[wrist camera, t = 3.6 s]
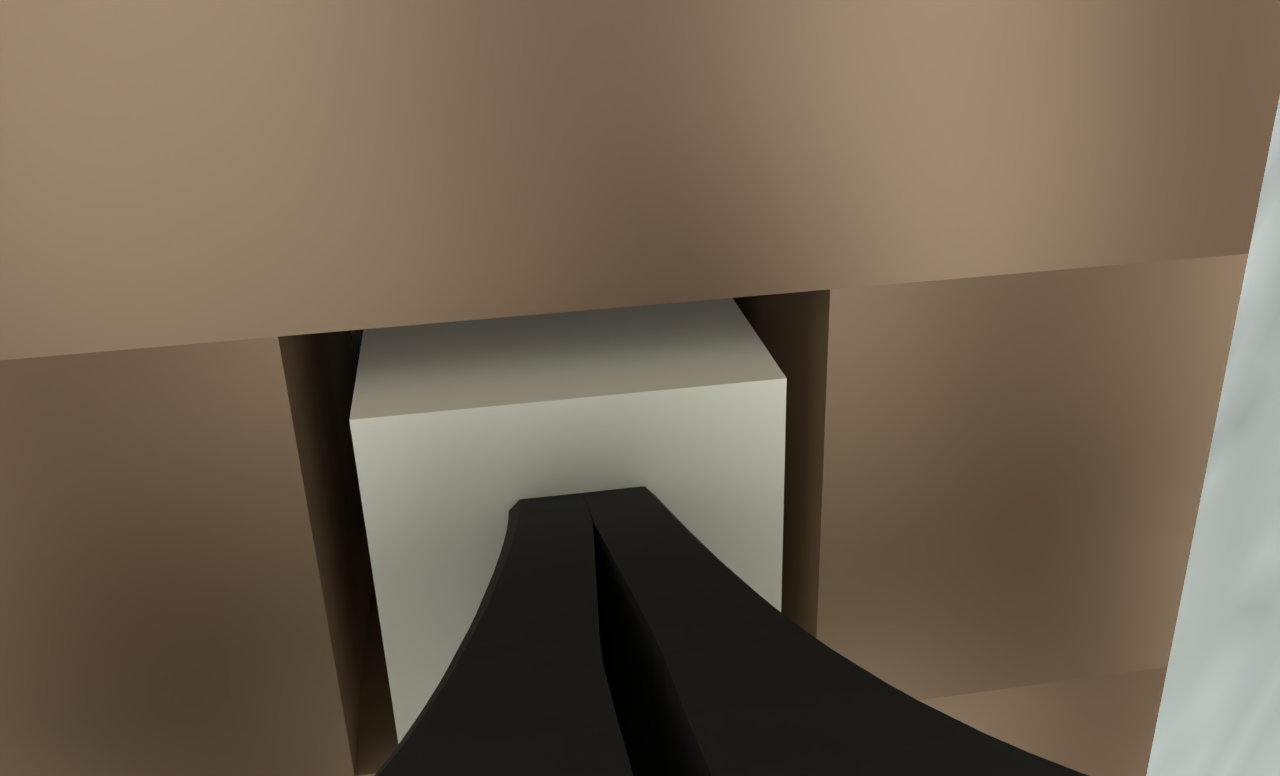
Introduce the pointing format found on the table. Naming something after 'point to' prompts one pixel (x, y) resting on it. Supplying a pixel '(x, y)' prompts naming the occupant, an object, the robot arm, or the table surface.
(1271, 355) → the table surface
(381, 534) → the cream peg
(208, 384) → the walnut block
